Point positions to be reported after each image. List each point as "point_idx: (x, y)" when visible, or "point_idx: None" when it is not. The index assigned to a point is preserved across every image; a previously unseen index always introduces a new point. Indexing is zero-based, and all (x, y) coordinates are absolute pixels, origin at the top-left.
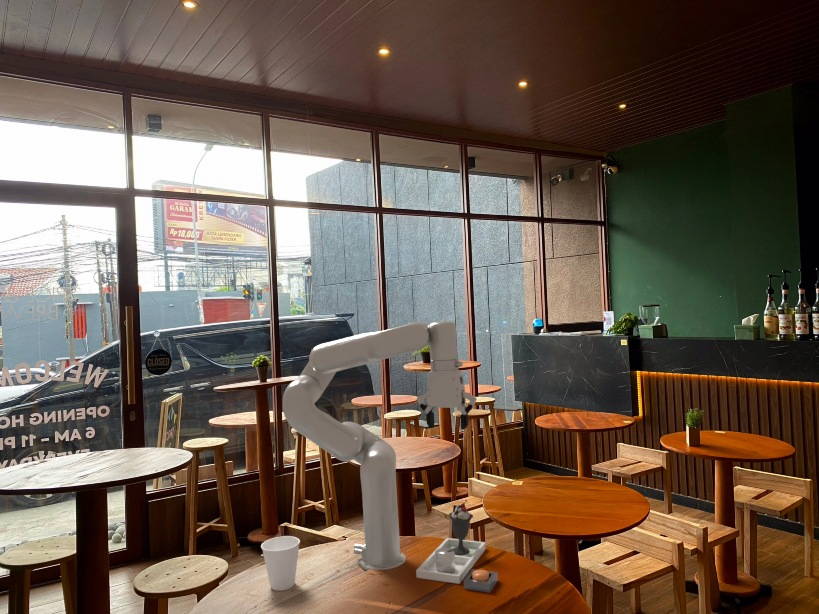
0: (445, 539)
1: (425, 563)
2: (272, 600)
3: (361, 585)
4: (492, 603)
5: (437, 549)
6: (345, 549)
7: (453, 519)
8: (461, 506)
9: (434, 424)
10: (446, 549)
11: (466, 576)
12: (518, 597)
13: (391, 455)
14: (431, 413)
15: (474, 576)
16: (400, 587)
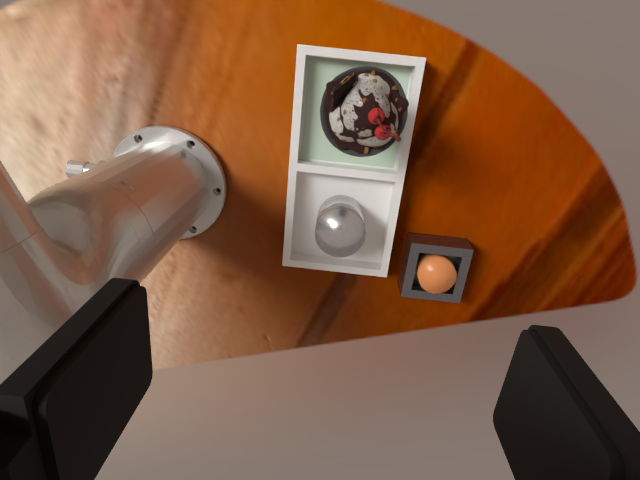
0: (296, 58)
1: (291, 229)
2: None
3: (180, 289)
4: (459, 311)
5: (317, 224)
6: (26, 117)
7: (344, 152)
8: (371, 126)
9: (137, 292)
10: (341, 220)
11: (404, 279)
12: (511, 282)
13: (11, 352)
14: (41, 455)
15: (424, 289)
16: (261, 283)
